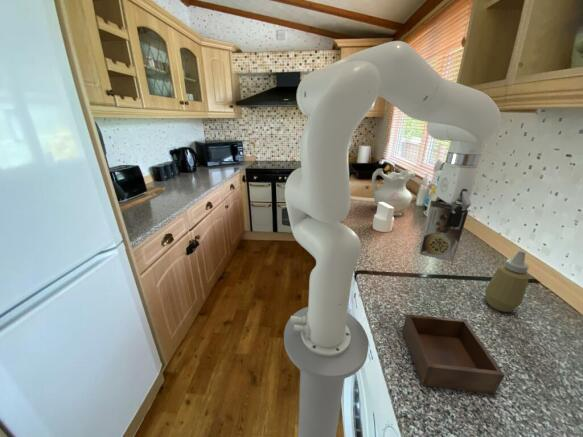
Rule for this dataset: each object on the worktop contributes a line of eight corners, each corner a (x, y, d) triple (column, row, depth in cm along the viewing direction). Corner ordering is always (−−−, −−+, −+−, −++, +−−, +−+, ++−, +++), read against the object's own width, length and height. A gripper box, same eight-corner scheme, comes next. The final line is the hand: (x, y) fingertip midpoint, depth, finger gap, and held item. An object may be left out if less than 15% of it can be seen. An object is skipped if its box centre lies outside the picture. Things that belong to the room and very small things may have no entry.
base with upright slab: (395, 231, 115) (400, 207, 111) (379, 232, 113) (383, 208, 109) (384, 223, 123) (388, 201, 119) (368, 225, 121) (372, 202, 117)
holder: (422, 385, 49) (428, 366, 47) (402, 331, 61) (406, 314, 59) (494, 394, 47) (504, 375, 45) (459, 336, 60) (465, 319, 58)
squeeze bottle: (524, 317, 66) (552, 261, 59) (491, 313, 67) (515, 257, 60) (505, 297, 73) (529, 245, 66) (476, 294, 75) (496, 242, 67)
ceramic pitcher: (375, 220, 130) (384, 175, 118) (362, 205, 147) (369, 164, 136) (413, 219, 132) (426, 175, 120) (396, 204, 149) (406, 164, 137)
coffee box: (451, 252, 76) (466, 204, 70) (452, 262, 71) (469, 211, 65) (419, 245, 80) (431, 199, 74) (418, 254, 75) (431, 205, 69)
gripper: (433, 155, 73) (420, 209, 80) (464, 165, 57) (445, 232, 64) (460, 156, 72) (444, 211, 79) (499, 166, 56) (475, 234, 63)
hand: (444, 220), depth 71 cm, fingers closed on coffee box, 7 cm apart
